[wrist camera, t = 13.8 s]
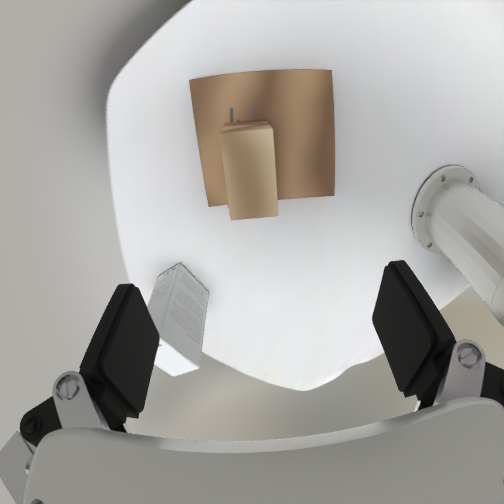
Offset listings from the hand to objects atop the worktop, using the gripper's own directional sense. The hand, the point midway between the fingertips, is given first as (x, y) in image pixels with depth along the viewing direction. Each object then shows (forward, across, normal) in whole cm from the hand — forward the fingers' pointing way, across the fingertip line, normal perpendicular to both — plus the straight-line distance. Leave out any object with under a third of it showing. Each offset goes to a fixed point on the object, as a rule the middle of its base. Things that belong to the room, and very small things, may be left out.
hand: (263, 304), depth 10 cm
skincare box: (+20, +10, +15) cm, 27 cm away
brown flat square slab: (+20, -2, -3) cm, 20 cm away
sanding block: (+19, 0, -1) cm, 19 cm away
